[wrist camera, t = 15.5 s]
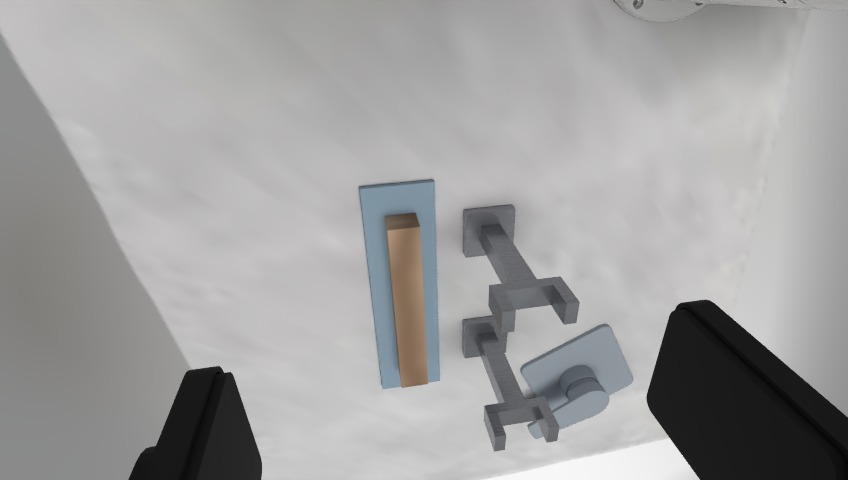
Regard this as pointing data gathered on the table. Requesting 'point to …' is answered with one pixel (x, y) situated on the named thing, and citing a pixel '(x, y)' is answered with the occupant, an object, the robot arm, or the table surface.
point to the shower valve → (578, 377)
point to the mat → (374, 209)
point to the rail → (407, 297)
